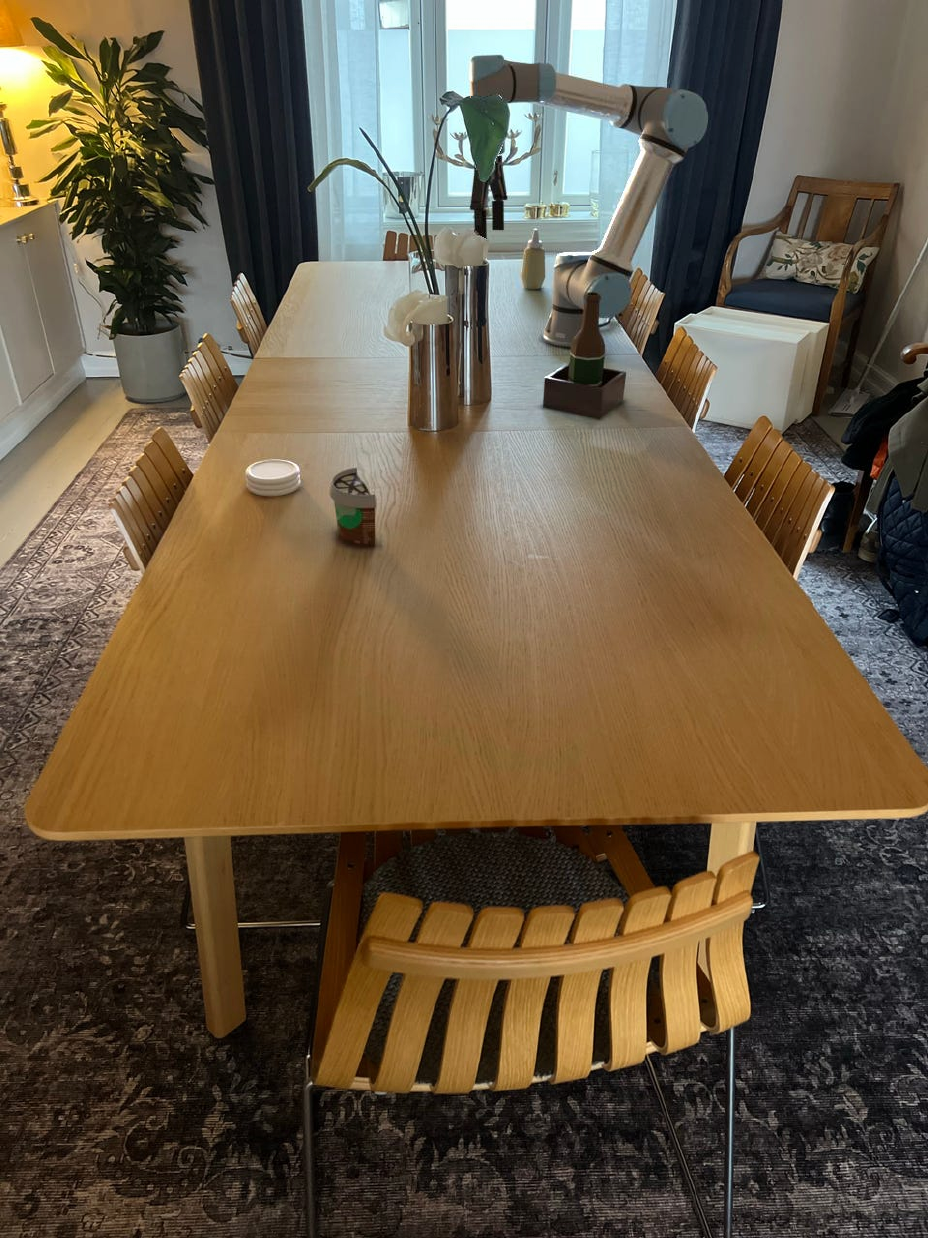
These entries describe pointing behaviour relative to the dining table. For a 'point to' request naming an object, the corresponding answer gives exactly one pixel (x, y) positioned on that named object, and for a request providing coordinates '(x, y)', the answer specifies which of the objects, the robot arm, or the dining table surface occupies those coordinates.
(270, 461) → the coaster
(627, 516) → the dining table surface
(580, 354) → the beer bottle
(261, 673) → the dining table surface
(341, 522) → the food container
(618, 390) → the box
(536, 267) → the squeeze bottle
